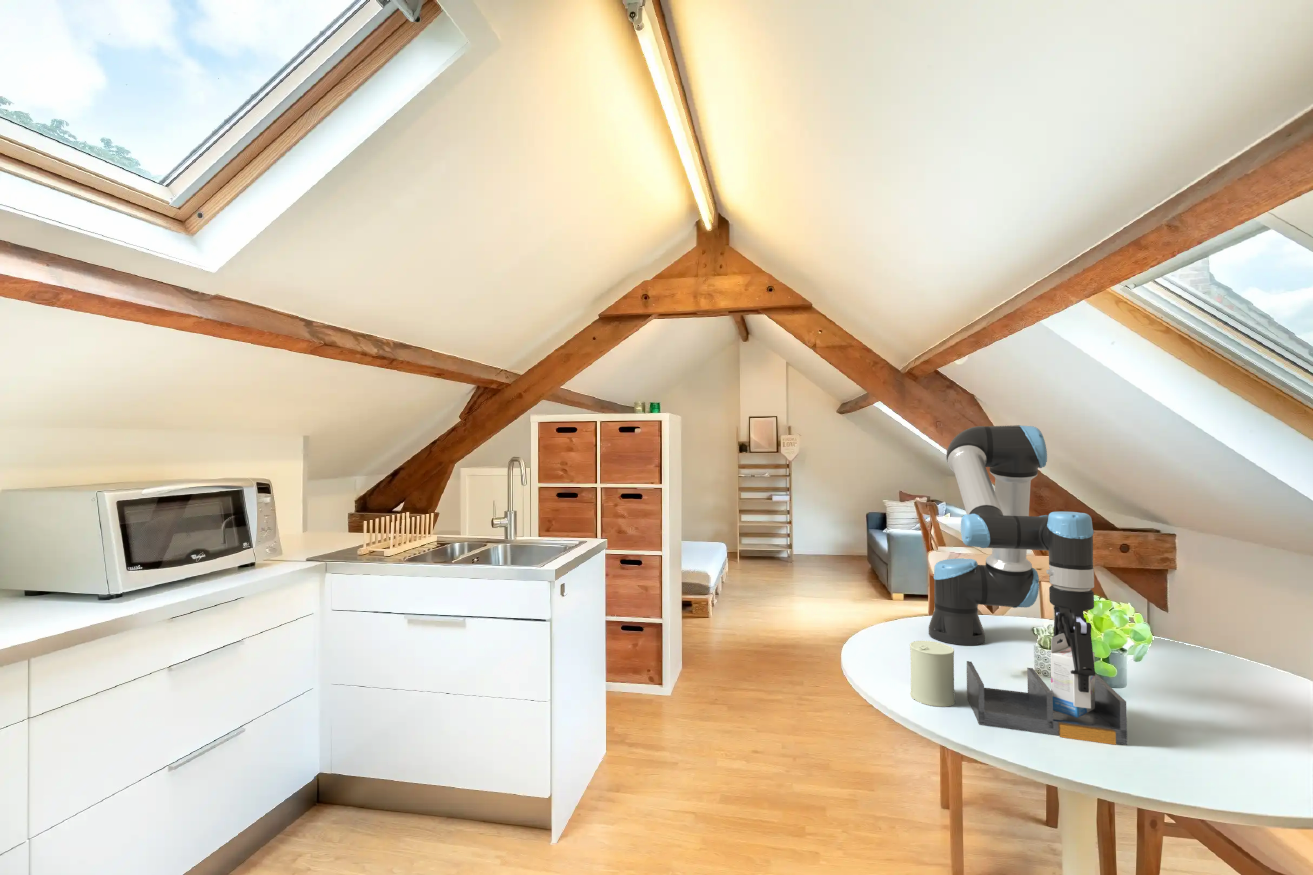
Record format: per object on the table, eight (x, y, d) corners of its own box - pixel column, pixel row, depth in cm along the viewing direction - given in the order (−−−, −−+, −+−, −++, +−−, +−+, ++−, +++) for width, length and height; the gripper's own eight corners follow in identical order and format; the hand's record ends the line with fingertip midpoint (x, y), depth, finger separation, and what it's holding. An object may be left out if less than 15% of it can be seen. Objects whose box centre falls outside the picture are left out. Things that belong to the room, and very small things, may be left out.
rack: (967, 697, 131) (966, 660, 131) (1098, 713, 123) (1097, 674, 123) (979, 725, 117) (979, 685, 118) (1128, 746, 109) (1127, 702, 109)
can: (901, 693, 133) (900, 641, 134) (930, 687, 137) (929, 636, 137) (934, 709, 125) (933, 654, 125) (964, 702, 128) (963, 648, 129)
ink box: (1078, 719, 114) (1077, 644, 115) (1050, 709, 118) (1049, 637, 119) (1096, 708, 119) (1095, 636, 119) (1068, 699, 123) (1067, 630, 123)
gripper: (1034, 575, 131) (1036, 674, 130) (1067, 598, 110) (1070, 716, 110) (1073, 577, 128) (1075, 679, 128) (1115, 601, 108) (1117, 723, 107)
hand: (1073, 696), depth 119 cm, fingers closed on ink box, 9 cm apart
